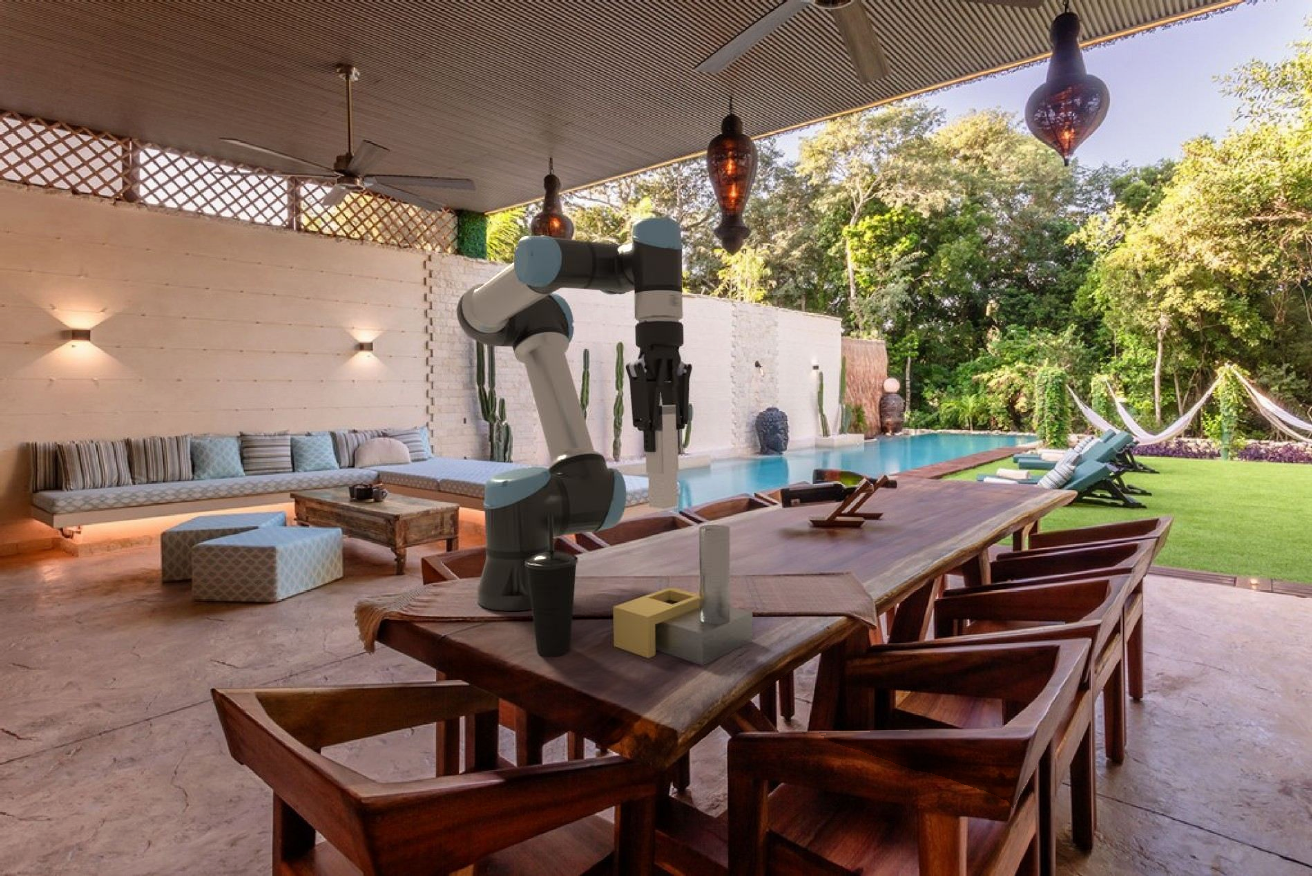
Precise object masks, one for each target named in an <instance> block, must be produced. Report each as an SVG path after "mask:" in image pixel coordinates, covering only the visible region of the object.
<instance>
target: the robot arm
mask: <svg viewBox="0 0 1312 876" xmlns="http://www.w3.org/2000/svg"><path fill="white" fill-rule="evenodd" d="M681 230H682V229H681V225H680V224H679V222H678V221H676V220H675V219H672V218H668V217H659V216H658V217H657V216H656V217H647V218H646V217H645V218H641V219H639V220H637V221H636V222H635V223H634V225H633V226H632V235H631V241H629V242H627V243H622V244H615V243H605V242H597V241H589V240H588V241H587V240H577V239H571V238H570V239H569V238H561V237H554V236H548V235H525V236H523V237H521V238H520V239H519V240H518V242H517V246H516V247H515V249H514V255H513V262H512V263H511V264H509V265H508V266H507V267H505V268H504V269H503V270H502V271H501V272H499V273H498V274H496V275H495V276H494V277H492V278H491V279H490V280H488V281H487V282H485V283H477V284H475V285H473V286H471V287H470V288H468V289H467V290H466V291H465V292H464V293H463V294H462V295H461V297H460V298H459V300H458V303H457V306H456V318H457V321H458V323H459V325H460V327H461V329H462V330H463V331H464V333H465V334H466V335H467V336H469V337H470V338H471V339H472V340H474V341H476V342H478V343H480V344H483V345H486V346H491V347H511V348H512V349H513V354H514V357H515V359H516V360H517V361H518V362H519V363H521V364H524V367H525V370H526V373H527V377H528V381H529V384H530V388H531V391H532V395H533V399H534V403H535V406H536V407H535V408H536V410H537V413H538V418H539V420H540V421H539V422H540V425H541V428H542V431H543V435H544V440H545V442H546V446H547V450H548V453H549V457H550V461H551V463H550V465H549V466H548V467H544V466H542V467H541V466H531V467H527V468H526V467H523V468H521V467H520V468H516V469H511V470H507V471H503V472H499V473H497V474H494V475H493V476H490V478H488V480H487V481H486V483H485V484H484V501H483V507H484V524H485V525H484V527H485V528H484V529H485V557H486V558H485V562H484V565H483V569H482V573H481V576H480V579H479V584H478V586H477V591H476V592H477V594H476V595H477V603H478V604H479V606H481V607H483V608H486V609H488V610H494V611H501V612H502V611H504V612H505V611H506V612H510V611H511V612H513V611H514V612H516V611H529V610H532V604H531V595H530V587H529V578H528V569H527V566H526V565H525V560H526V559H527V558H529V557H531V556H533V555H535V554H537V553H539V552H542V551H547V550H549V523H548V516H553V537H554V538H555V537H564V536H570V535H571V536H572V535H577V534H578V535H579V534H585V533H592V532H593V533H598V532H599V531H603V530H607V529H611V528H614V527H615V526H617V525H618V524H619V523H620V521H621V519H622V517H623V516H624V513H625V510H626V505H627V486H626V481H625V478H624V476H623V474H622V473H621V472H620V470H618V469H617V468H613V467H608V466H607V462H606V459H605V456H604V455H603V454H602V453H600V452H599V451H596V450H595V449H594V445H593V442H592V439H591V435H590V433H589V429H588V426H587V422H586V419H585V417H584V413H583V409H582V406H581V403H580V399H579V395H578V393H577V389H576V386H575V383H574V382H575V381H574V380H573V375H572V373H571V369H570V367H569V363H568V359H567V356H566V353H567V351H568V349H569V347H570V343H571V341H572V340H573V337H574V330H575V327H574V325H573V323H575V322H574V321H575V320H574V315H573V312H572V310H571V307H570V305H569V303H568V302H567V301H566V299H565V298H564V297H562V296H561V295H560V294H557V293H554V292H556V291H559V290H560V289H577V290H591V291H593V290H594V291H600V292H602V293H604V294H605V295H610V296H611V295H625V294H626V293H630V292H632V291H633V292H634V295H633V296H634V297H633V298H634V319H635V321H638V323H636V325H634V328H635V329H634V333H635V335H634V336H635V337H634V338H635V347H637V348H639V352H638V353H639V354H638V356H637V360H635V361H634V362H628V363H626V364H625V370H626V373H627V376H628V379H629V391H630V403H631V404H630V406H631V417H632V426H633V427H634V428H637V430H638V431H639V432H643V450H644V452H645V472H646V474H648V473H657V474H661V473H662V433H661V431H657V428H658V417H659V406H660V405H676V452H677V472H678V471H679V470H680V469H679V449H680V430H684V429H685V427H686V425H687V424H689V412H690V411H689V409H690V407H689V406H690V381H691V380H690V379H691V375H692V371H693V365H692V364H691V363H685V362H684V361H682V357H681V354H680V347H682V346H683V345H684V341H685V340H684V338H685V337H684V324H683V322H681V321H680V320H682V319H683V317H684V316H683V315H684V314H683V313H684V312H683V311H684V310H683V308H684V307H683V249H684V247H683V244H682V243H683V242H682V233H681V232H682V231H681Z"/></svg>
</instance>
